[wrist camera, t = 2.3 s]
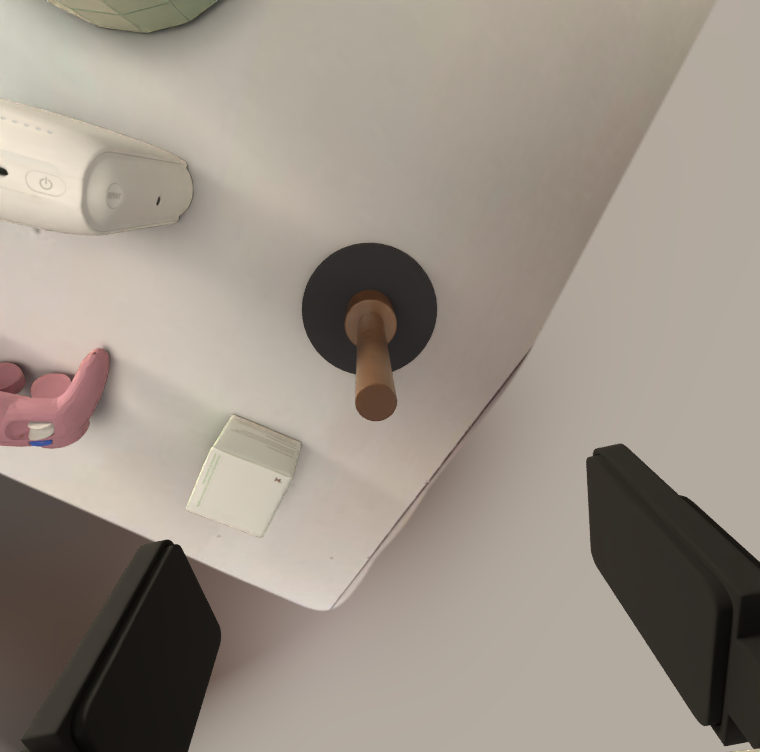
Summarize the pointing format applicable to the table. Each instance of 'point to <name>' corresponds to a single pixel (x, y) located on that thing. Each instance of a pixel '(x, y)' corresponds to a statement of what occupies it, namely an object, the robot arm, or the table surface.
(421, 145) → the table surface
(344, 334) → the coaster
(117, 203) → the photo printer
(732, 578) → the robot arm
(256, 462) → the small box
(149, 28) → the bowl
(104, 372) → the video game controller
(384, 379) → the pestle
